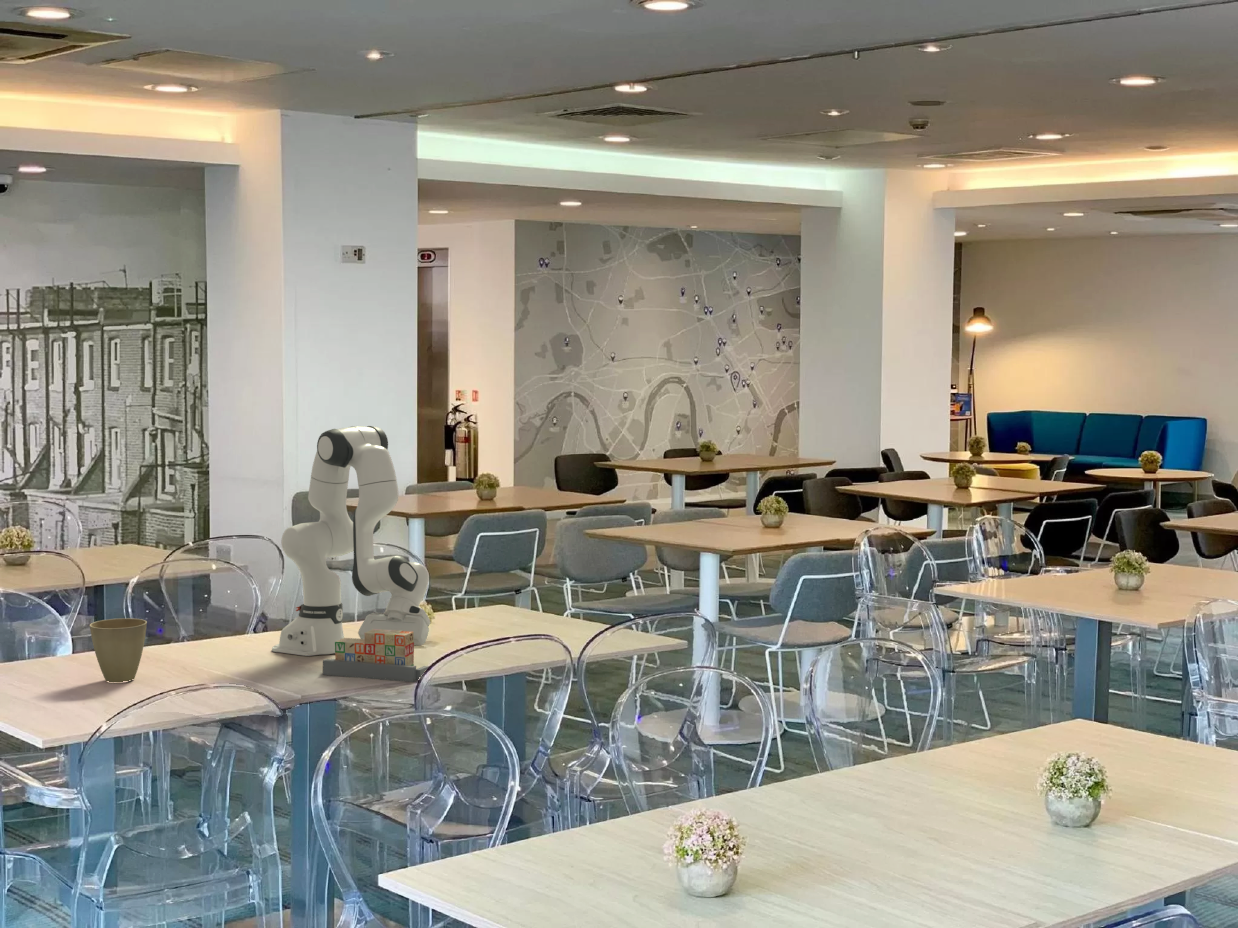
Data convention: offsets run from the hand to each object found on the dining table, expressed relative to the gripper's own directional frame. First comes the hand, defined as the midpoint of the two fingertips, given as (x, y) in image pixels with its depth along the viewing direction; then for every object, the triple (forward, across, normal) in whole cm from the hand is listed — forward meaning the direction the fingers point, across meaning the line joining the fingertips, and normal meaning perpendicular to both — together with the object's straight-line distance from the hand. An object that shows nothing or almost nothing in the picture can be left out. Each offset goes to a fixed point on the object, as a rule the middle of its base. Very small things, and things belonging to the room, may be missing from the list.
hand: (384, 654), depth 433 cm
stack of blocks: (+6, -1, +1) cm, 7 cm away
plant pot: (+28, -62, -22) cm, 72 cm away
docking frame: (+8, 0, -1) cm, 8 cm away
